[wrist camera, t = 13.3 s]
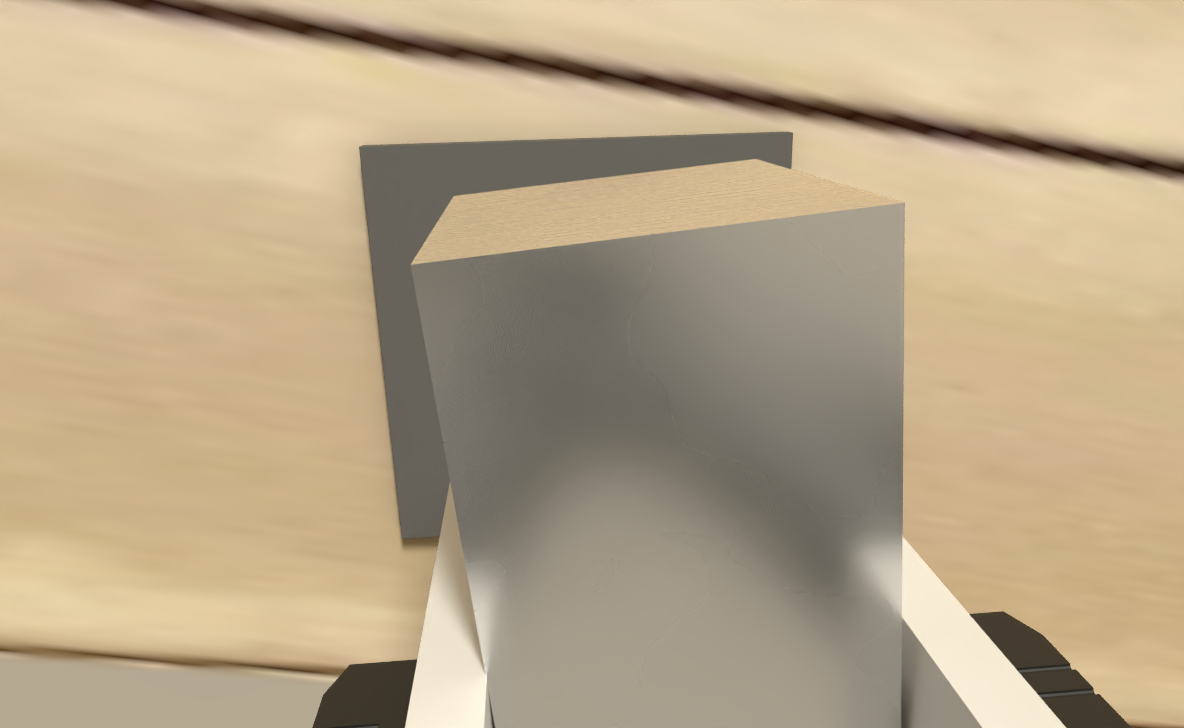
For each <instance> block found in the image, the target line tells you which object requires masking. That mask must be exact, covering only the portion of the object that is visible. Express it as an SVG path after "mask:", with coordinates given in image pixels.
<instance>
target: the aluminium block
mask: <svg viewBox="0 0 1184 728" xmlns="http://www.w3.org/2000/svg"><path fill="white" fill-rule="evenodd" d="M904 222H905V203H904V202H901V201H897V200H894V199H891V198H887V197H884V196H880V195H877V194H874V193H870V192H867V191H863V190H860V189H857V188H853V187H850V186H846V185H843V184H839V183H836V182H833V181H829V180H826V179H822V178H819V177H816V176H812V175H809V174H805V173H802V172H799V171H795V170H792V169H788V168H785V167H781V166H778V165H775V164H771V163H768V162H764V161H761V160H758V159H751V160H743V161H735V162H727V163H719V164H710V165H702V166H694V167H686V168H678V169H670V170H661V171H653V172H645V173H637V174H629V175H621V176H613V177H604V178H596V179H588V180H580V181H572V182H564V183H555V184H547V185H539V186H531V187H523V188H515V189H507V190H498V191H490V192H482V193H474V194H466V195H458V196H453V198H452V200H451V201H450V203H449V204H448V206H447V208H446V209H445V211H444V212H443V214H442V215H441V217H440V219H439V220H438V222H437V223H436V225H435V227H434V228H433V230H432V231H431V233H430V235H429V236H428V238H427V239H426V241H425V242H424V244H423V246H422V247H421V249H420V250H419V252H418V254H417V255H416V257H415V258H414V260H413V262H412V263H411V270H412V276H413V281H414V287H415V292H416V298H417V303H418V309H419V314H420V320H421V325H422V330H423V336H424V341H425V347H426V352H427V358H428V363H429V369H430V374H431V380H432V385H433V391H434V396H435V401H436V407H437V412H438V418H439V423H440V429H441V434H442V440H443V445H444V451H445V456H446V462H447V467H448V473H449V478H450V483H451V489H452V494H453V500H454V505H455V511H456V516H457V522H458V527H459V533H460V538H461V544H462V549H463V554H464V560H465V565H466V571H467V576H468V582H469V587H470V593H471V598H472V604H473V609H474V615H475V620H476V626H477V631H478V636H479V642H480V647H481V653H482V658H483V664H484V669H485V675H487V681H488V691H489V697H490V702H491V708H492V713H493V718H494V724H495V728H901V677H902V526H903V374H904Z"/></svg>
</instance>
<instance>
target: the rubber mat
mask: <svg viewBox="0 0 1184 728" xmlns="http://www.w3.org/2000/svg"><path fill="white" fill-rule="evenodd" d="M792 141H793V133H791V132H763V133H732V134H701V135H670V136H639V137H608V138H577V139H546V140H514V141H483V142H452V143H421V144H390V145H363V146H360V147H359V150H360V159H361V168H362V177H363V186H364V196H365V205H366V214H367V223H368V232H369V241H370V250H371V260H372V269H373V278H374V287H375V296H376V305H377V314H378V324H379V333H380V342H381V351H382V360H383V369H384V378H385V387H386V397H387V406H388V415H389V424H390V433H391V442H392V451H393V461H394V470H395V479H396V488H397V497H398V506H399V515H400V525H401V534H402V539H405V538H420V537H436V536H440V533H441V527H442V522H443V516H444V511H445V505H446V500H447V494H448V489H449V483H450V478H449V473H448V467H447V462H446V456H445V451H444V445H443V440H442V434H441V429H440V423H439V418H438V412H437V407H436V401H435V396H434V391H433V385H432V380H431V374H430V369H429V363H428V358H427V352H426V347H425V341H424V336H423V330H422V325H421V320H420V314H419V309H418V303H417V298H416V292H415V287H414V281H413V276H412V270H411V263H412V262H413V260H414V258H415V257H416V255H417V254H418V252H419V250H420V249H421V247H422V246H423V244H424V242H425V241H426V239H427V238H428V236H429V235H430V233H431V231H432V230H433V228H434V227H435V225H436V223H437V222H438V220H439V219H440V217H441V215H442V214H443V212H444V211H445V209H446V208H447V206H448V204H449V203H450V201H451V200H452V198H453V196H458V195H466V194H474V193H482V192H490V191H498V190H507V189H515V188H523V187H531V186H539V185H547V184H555V183H564V182H572V181H580V180H588V179H596V178H604V177H613V176H621V175H629V174H637V173H645V172H653V171H661V170H670V169H678V168H686V167H694V166H702V165H710V164H719V163H727V162H735V161H743V160H751V159H758V160H761V161H764V162H768V163H771V164H775V165H778V166H781V167H785V168H788V169H791V163H792Z"/></svg>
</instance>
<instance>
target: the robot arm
mask: <svg viewBox="0 0 1184 728" xmlns="http://www.w3.org/2000/svg"><path fill="white" fill-rule="evenodd" d="M313 728H495V724H494V718H493V713H492V708H491V702H490V697H489V691H488V681H487V675H485V669H484V664H483V658H482V653H481V647H480V642H479V636H478V631H477V626H476V620H475V615H474V609H473V604H472V598H471V593H470V587H469V582H468V576H467V571H466V565H465V560H464V554H463V549H462V544H461V538H460V533H459V527H458V522H457V516H456V511H455V505H454V500H453V494H452V489H451V483H449V489H448V494H447V500H446V505H445V511H444V516H443V522H442V527H441V533H440V538H439V544H438V549H437V555H436V560H435V566H434V571H433V577H432V582H431V588H430V593H429V599H428V604H427V610H426V615H425V621H424V626H423V631H422V637H421V642H420V648H419V653H418V659H417V660H404V661H391V662H379V663H366V664H353V665H349V666H348V668H347V669H346V670H345V671H344V672H343V673H342V674H341V675H340V677H339V678H338V679H337V680H336V681H335V682H334V683H333V684H332V686H331V687H330V688H329V689H328V690H327V691H326V692H325V694H324V695H323V697H322V701H321V703H320V707H319V710H318V713H317V716H316V719H315V722H314V725H313ZM901 728H1131V727H1130V726H1129V725H1128V724H1127V723H1126V722H1125V720H1124V719H1123V718H1122V717H1121V716H1120V715H1119V714H1118V713H1117V712H1116V711H1115V710H1114V709H1113V708H1112V707H1111V706H1110V705H1109V704H1108V703H1107V702H1106V701H1105V700H1104V699H1103V698H1102V696H1101V695H1100V694H1096V695H1095V693H1094V691H1093V687H1092V686H1091V685H1090V684H1089V683H1088V682H1087V681H1086V680H1085V679H1084V678H1083V677H1082V676H1081V675H1080V673H1079V672H1078V671H1077V670H1072V669H1071V667H1070V663H1069V662H1068V661H1067V660H1066V659H1065V658H1064V657H1063V656H1062V655H1061V654H1060V653H1059V652H1058V651H1057V649H1056V648H1055V647H1054V646H1053V645H1052V644H1051V643H1050V642H1049V641H1048V640H1047V639H1046V638H1045V637H1044V636H1043V635H1042V634H1040V633H1039V632H1037V631H1035V630H1034V629H1032V628H1030V627H1029V626H1027V625H1025V624H1023V623H1022V622H1020V621H1018V620H1017V619H1015V618H1013V617H1012V616H1010V615H1008V614H1007V613H1005V612H990V613H977V614H968V612H967V611H966V610H965V609H964V608H963V607H962V605H961V604H960V603H959V602H958V601H957V600H956V598H955V597H954V596H953V595H952V594H951V592H950V591H949V590H948V589H947V588H946V587H945V585H944V584H943V583H942V582H941V581H940V580H939V578H938V577H937V576H936V575H935V574H934V573H933V571H932V570H931V569H930V568H929V567H928V566H927V564H926V563H925V562H924V561H923V560H922V559H921V557H920V556H919V555H918V554H917V553H916V552H915V550H914V549H913V548H912V547H911V546H910V545H909V543H908V542H907V541H906V540H905V539H904V538H903V536H902V677H901Z"/></svg>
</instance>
